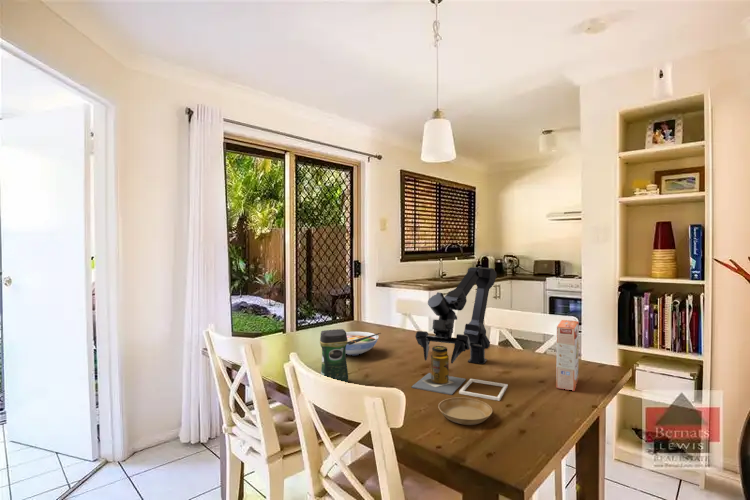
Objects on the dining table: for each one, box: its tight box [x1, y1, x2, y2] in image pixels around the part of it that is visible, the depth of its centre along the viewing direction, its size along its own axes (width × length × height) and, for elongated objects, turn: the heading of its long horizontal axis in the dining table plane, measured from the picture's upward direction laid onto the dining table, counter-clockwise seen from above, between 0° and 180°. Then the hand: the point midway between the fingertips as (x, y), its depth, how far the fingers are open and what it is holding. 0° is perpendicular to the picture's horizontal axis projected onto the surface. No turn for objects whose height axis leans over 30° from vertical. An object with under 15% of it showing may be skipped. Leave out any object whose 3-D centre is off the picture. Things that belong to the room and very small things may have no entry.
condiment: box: [422, 345, 454, 387], centre depth 135 cm, size 7×8×12 cm
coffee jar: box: [319, 328, 349, 383], centre depth 136 cm, size 10×8×19 cm
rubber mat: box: [411, 372, 467, 396], centre depth 134 cm, size 16×14×1 cm
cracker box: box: [555, 319, 580, 392], centre depth 133 cm, size 14×6×21 cm, turn 148°
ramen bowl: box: [346, 331, 382, 356], centre depth 174 cm, size 25×23×8 cm
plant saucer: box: [437, 396, 493, 426], centre depth 109 cm, size 15×15×3 cm
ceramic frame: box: [458, 378, 508, 402], centre depth 128 cm, size 14×13×1 cm
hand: (438, 361), depth 133 cm, fingers open, 9 cm apart
